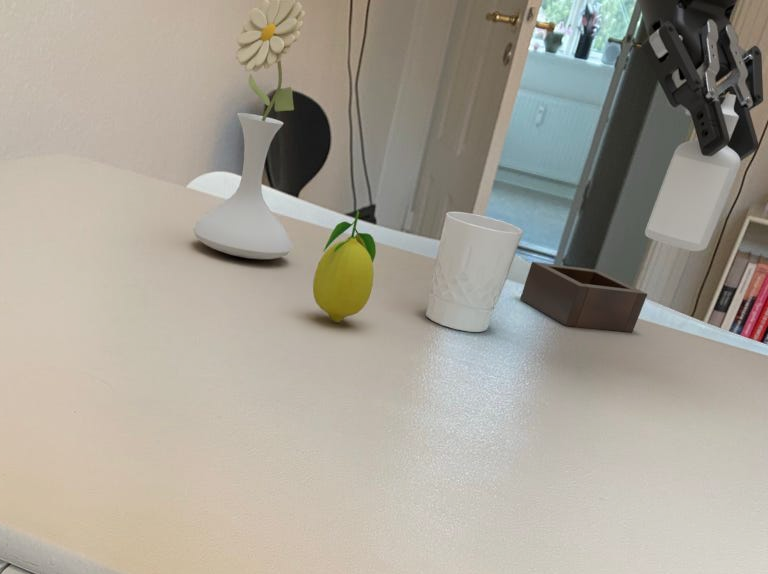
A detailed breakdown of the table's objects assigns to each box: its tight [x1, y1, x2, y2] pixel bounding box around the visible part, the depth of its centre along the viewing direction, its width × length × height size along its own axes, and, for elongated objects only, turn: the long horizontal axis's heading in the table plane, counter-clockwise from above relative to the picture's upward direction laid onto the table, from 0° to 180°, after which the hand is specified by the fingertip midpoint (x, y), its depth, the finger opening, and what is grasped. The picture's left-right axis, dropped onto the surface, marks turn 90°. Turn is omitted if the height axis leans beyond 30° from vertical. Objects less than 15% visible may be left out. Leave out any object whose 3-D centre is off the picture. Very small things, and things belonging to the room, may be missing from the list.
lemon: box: [312, 210, 377, 323], centre depth 84 cm, size 7×6×10 cm
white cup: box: [425, 211, 524, 333], centre depth 94 cm, size 8×8×10 cm
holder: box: [519, 261, 648, 333], centre depth 109 cm, size 10×10×4 cm
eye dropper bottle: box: [644, 93, 741, 252], centre depth 80 cm, size 4×6×12 cm
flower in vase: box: [192, 0, 306, 260], centre depth 96 cm, size 13×11×25 cm
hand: (731, 152), depth 78 cm, fingers closed on eye dropper bottle, 3 cm apart
